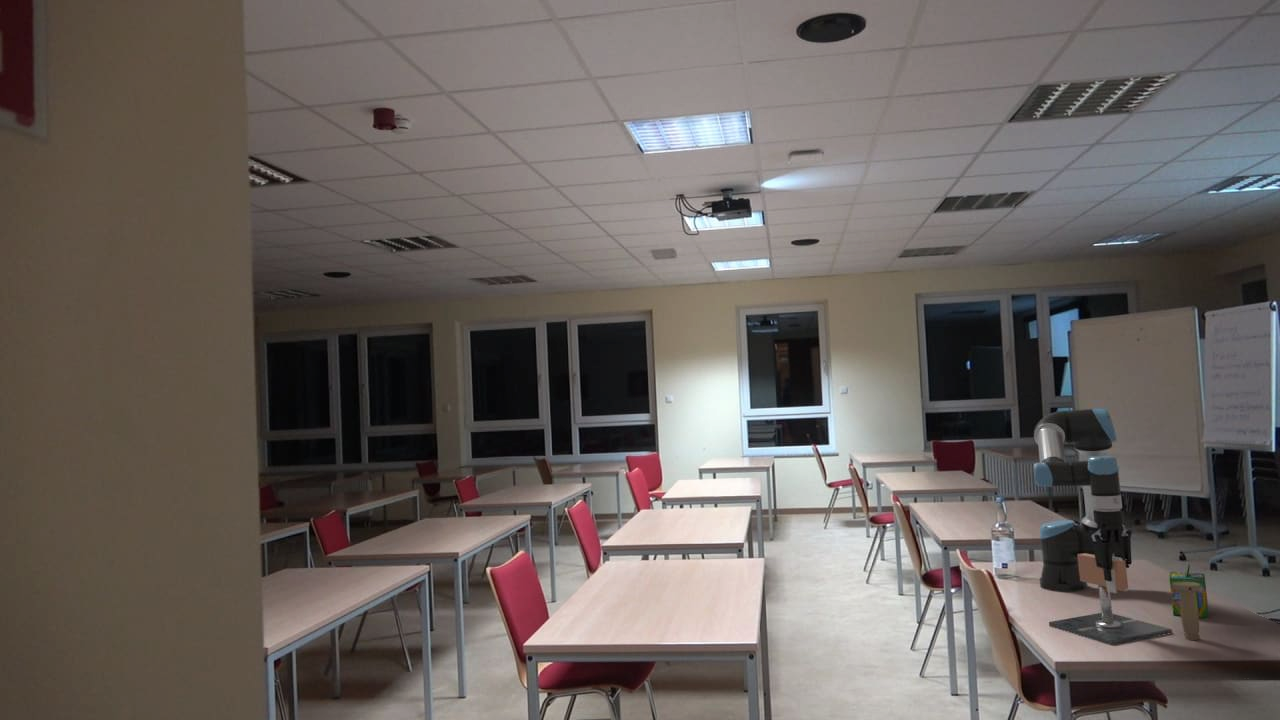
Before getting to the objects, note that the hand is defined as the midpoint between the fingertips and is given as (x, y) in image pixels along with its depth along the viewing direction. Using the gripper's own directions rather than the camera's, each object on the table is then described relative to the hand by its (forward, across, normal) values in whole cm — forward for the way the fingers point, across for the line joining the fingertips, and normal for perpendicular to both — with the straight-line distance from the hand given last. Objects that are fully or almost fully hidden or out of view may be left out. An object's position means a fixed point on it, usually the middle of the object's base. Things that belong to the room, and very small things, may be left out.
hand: (1117, 591), depth 224 cm
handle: (+12, +11, -12) cm, 21 cm away
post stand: (+12, 0, +4) cm, 13 cm away
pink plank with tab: (-1, 0, +5) cm, 5 cm away
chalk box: (+12, +33, +6) cm, 36 cm away
